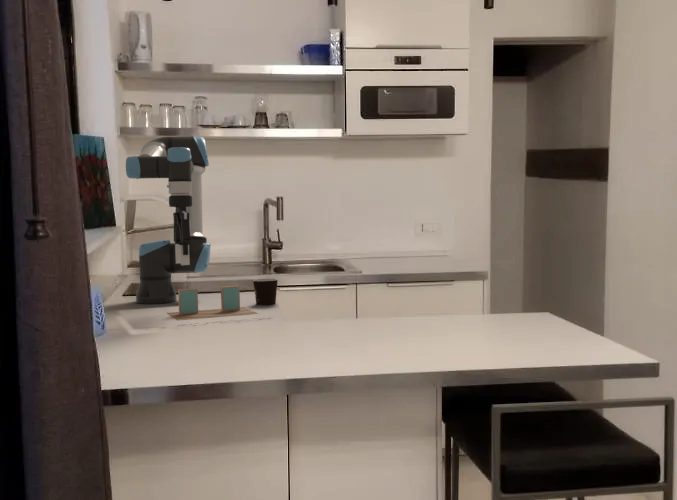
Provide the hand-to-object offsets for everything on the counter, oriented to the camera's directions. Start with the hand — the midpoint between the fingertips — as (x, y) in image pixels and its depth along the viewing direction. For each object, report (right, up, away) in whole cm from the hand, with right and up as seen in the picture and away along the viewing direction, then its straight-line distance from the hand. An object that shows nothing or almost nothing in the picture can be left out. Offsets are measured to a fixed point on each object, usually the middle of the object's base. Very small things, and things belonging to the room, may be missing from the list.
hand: (182, 264), depth 235 cm
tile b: (+16, -15, 0) cm, 22 cm away
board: (+11, -17, -5) cm, 21 cm away
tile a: (+3, -16, -5) cm, 17 cm away
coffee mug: (+26, -16, +16) cm, 35 cm away
